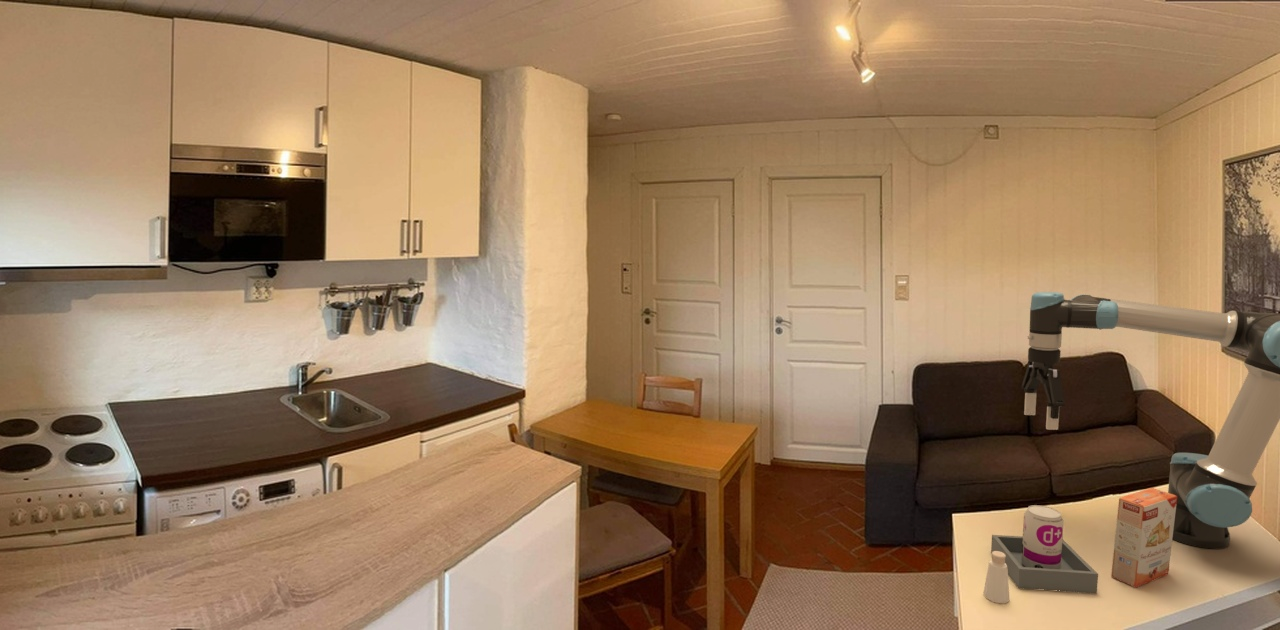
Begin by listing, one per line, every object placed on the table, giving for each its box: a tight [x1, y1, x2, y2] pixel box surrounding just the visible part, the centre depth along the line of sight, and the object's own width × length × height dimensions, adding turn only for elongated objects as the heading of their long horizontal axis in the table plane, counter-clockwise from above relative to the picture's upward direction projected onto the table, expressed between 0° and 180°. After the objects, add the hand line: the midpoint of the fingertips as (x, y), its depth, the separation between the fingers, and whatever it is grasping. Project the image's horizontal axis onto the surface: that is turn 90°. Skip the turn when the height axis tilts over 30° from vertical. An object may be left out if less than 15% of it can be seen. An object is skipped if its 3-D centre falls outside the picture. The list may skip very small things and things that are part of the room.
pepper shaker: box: [983, 551, 1011, 605], centre depth 145 cm, size 5×5×11 cm
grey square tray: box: [990, 534, 1099, 595], centre depth 155 cm, size 17×17×5 cm
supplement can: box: [1021, 504, 1065, 569], centre depth 154 cm, size 8×8×15 cm
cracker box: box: [1111, 487, 1177, 588], centre depth 151 cm, size 14×6×21 cm, turn 114°
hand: (1040, 421), depth 174 cm, fingers open, 13 cm apart
